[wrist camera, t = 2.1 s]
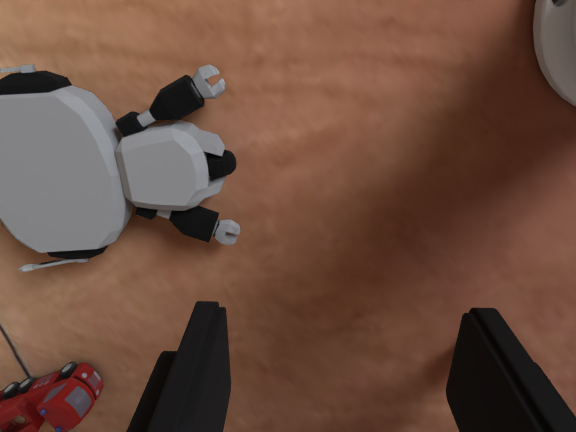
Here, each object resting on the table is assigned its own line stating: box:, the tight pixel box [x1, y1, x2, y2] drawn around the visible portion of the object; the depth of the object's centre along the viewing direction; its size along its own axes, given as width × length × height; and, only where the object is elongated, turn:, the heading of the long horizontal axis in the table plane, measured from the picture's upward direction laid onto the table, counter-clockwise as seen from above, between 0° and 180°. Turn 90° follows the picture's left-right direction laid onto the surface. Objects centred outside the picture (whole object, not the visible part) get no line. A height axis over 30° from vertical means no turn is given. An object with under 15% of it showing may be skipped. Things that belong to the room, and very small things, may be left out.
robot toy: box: [0, 65, 241, 272], centre depth 25 cm, size 12×4×15 cm
